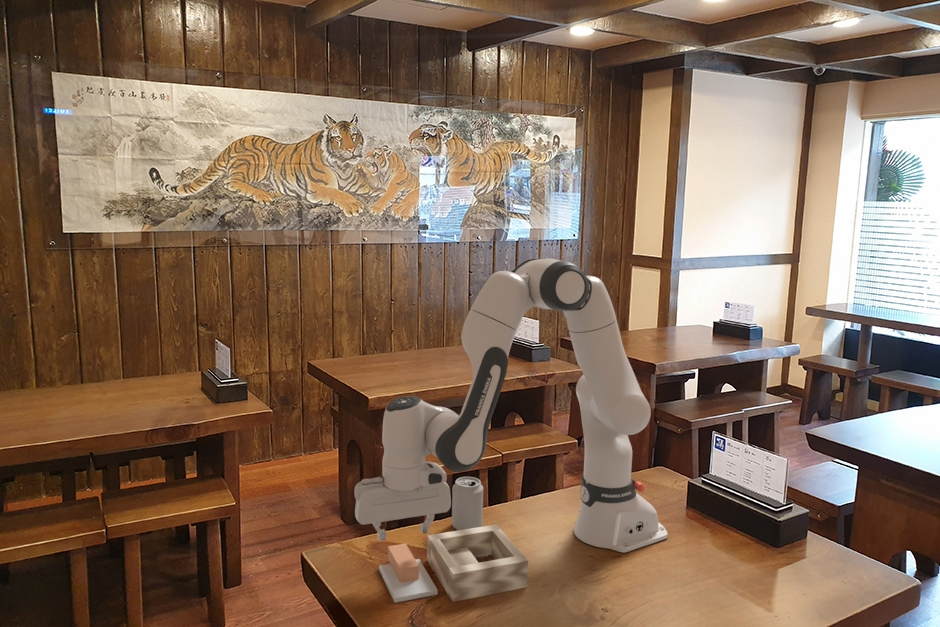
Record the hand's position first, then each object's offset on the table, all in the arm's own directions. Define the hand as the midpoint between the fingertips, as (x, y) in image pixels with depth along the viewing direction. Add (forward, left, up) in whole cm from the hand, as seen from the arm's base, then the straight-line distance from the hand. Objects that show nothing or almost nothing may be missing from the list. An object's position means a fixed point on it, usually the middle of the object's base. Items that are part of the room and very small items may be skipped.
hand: (403, 535), depth 151 cm
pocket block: (-14, +5, -9) cm, 18 cm away
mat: (0, +3, -9) cm, 9 cm away
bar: (0, 0, -8) cm, 8 cm away
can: (-20, -16, -9) cm, 27 cm away
